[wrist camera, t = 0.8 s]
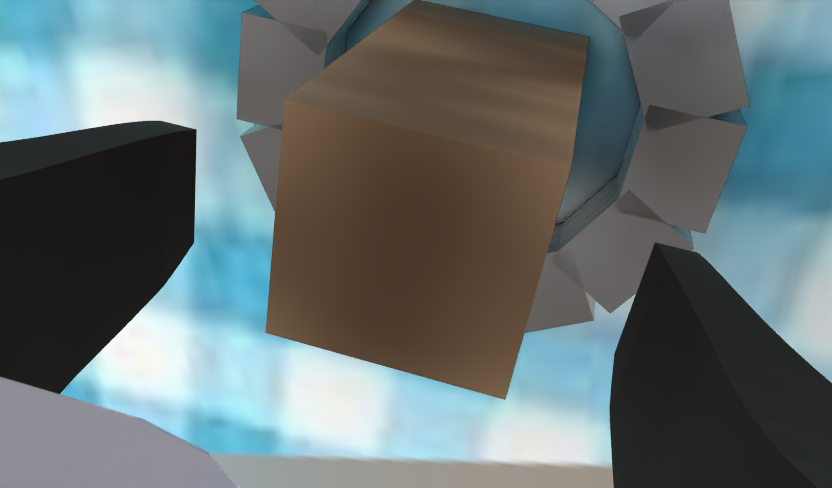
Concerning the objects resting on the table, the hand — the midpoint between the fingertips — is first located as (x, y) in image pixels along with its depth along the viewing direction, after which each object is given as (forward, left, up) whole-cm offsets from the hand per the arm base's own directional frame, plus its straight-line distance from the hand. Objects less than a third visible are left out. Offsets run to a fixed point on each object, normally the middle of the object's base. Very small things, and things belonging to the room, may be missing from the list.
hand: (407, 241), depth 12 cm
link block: (0, 0, -7) cm, 7 cm away
